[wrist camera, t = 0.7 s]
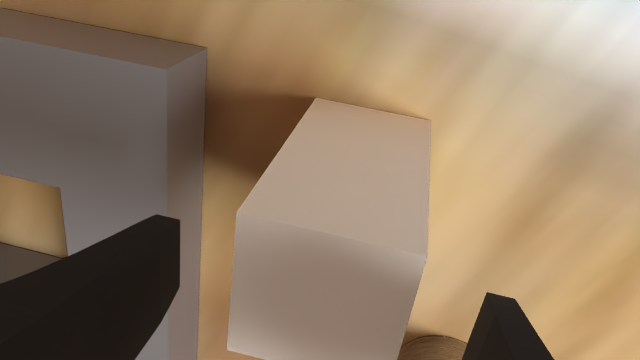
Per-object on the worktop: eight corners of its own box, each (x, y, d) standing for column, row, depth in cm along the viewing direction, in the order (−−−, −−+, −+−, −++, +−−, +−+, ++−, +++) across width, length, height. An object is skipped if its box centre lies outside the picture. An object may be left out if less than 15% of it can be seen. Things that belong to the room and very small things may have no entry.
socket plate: (196, 371, 25) (168, 423, 22) (-56, 302, 27) (-110, 344, 24) (207, 47, 18) (166, 69, 15) (-145, -21, 19) (-237, -12, 17)
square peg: (405, 219, 19) (387, 392, 12) (302, 196, 20) (226, 349, 13) (431, 120, 17) (427, 256, 10) (315, 97, 18) (236, 212, 11)
